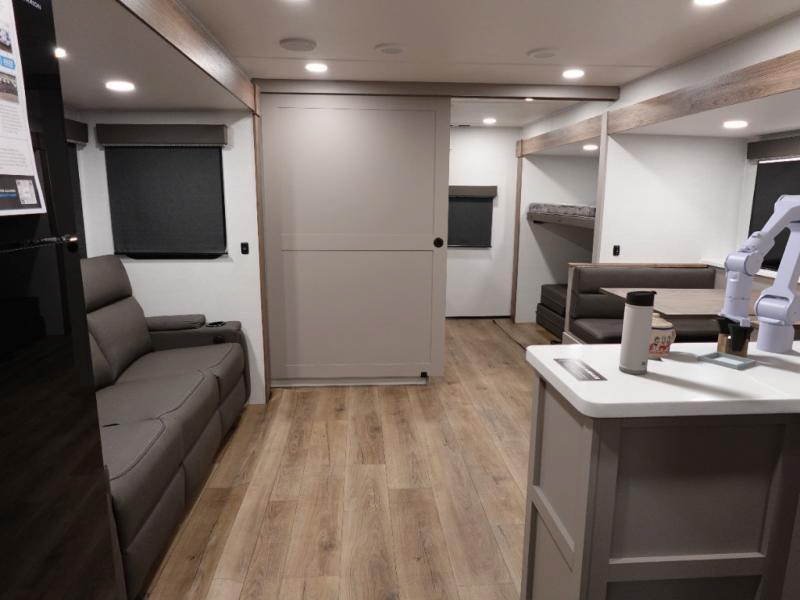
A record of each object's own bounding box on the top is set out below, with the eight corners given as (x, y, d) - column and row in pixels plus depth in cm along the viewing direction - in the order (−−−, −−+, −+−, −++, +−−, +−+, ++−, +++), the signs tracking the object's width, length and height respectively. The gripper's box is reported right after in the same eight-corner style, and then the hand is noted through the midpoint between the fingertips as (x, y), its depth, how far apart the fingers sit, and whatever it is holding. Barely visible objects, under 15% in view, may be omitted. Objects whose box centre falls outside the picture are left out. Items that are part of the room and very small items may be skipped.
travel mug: (650, 376, 128) (660, 293, 125) (621, 373, 129) (629, 291, 126) (644, 368, 134) (653, 289, 131) (616, 366, 135) (624, 287, 132)
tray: (716, 358, 145) (717, 351, 145) (755, 368, 137) (756, 360, 137) (697, 363, 140) (698, 356, 139) (736, 373, 132) (737, 365, 132)
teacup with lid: (650, 361, 141) (655, 317, 139) (625, 352, 149) (629, 311, 147) (685, 358, 145) (691, 315, 143) (659, 349, 153) (664, 309, 151)
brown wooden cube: (716, 351, 149) (718, 333, 148) (738, 352, 148) (740, 335, 147) (723, 356, 143) (726, 338, 142) (746, 358, 142) (749, 339, 141)
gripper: (711, 292, 150) (705, 339, 152) (731, 301, 136) (724, 353, 138) (739, 294, 149) (732, 341, 151) (762, 302, 135) (754, 355, 137)
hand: (730, 347), depth 145 cm, fingers open, 7 cm apart
